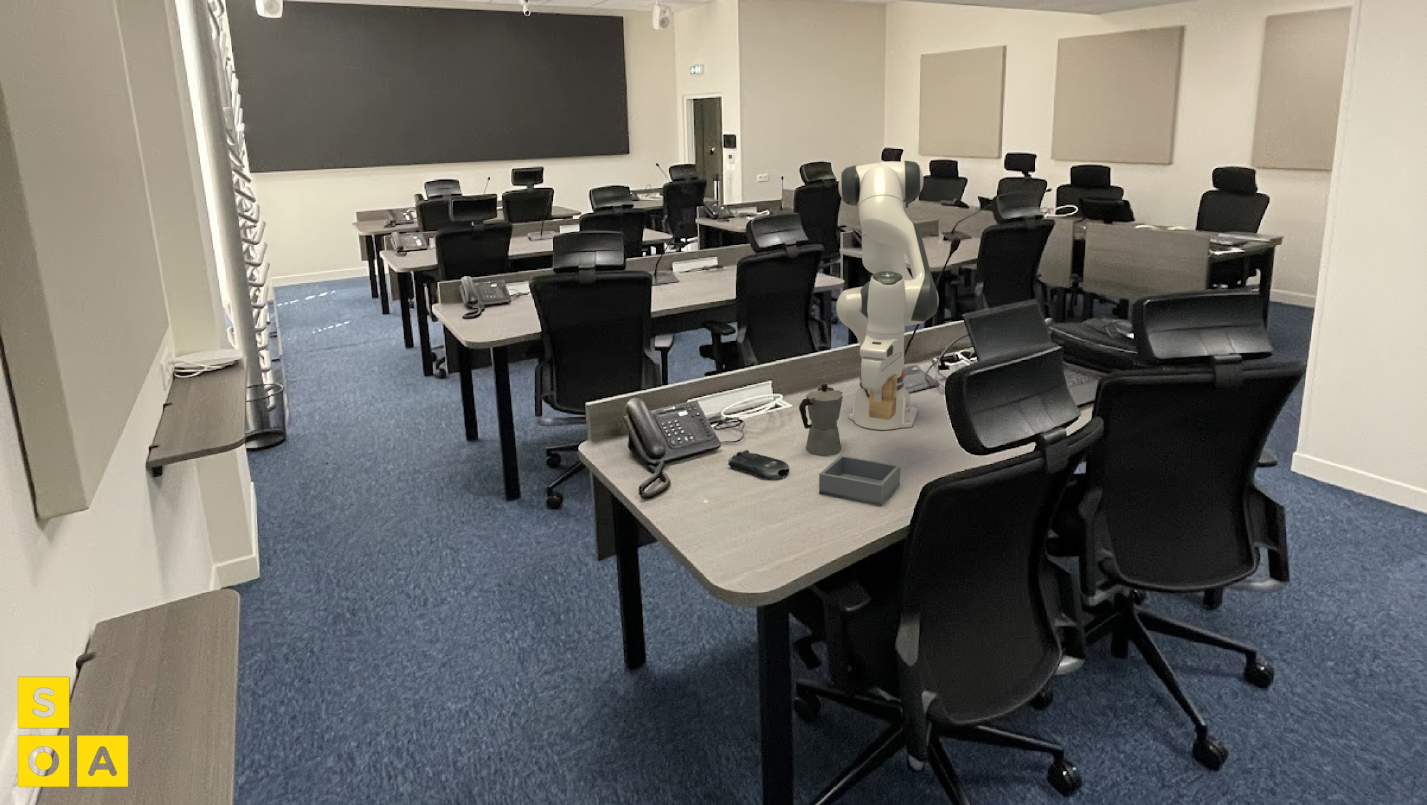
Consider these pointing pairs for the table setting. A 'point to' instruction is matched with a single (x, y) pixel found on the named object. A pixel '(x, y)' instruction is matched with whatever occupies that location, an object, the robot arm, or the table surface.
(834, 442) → the coffeepot
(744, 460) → the electronic device
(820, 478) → the desk bin
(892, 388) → the oak block
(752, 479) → the table surface
